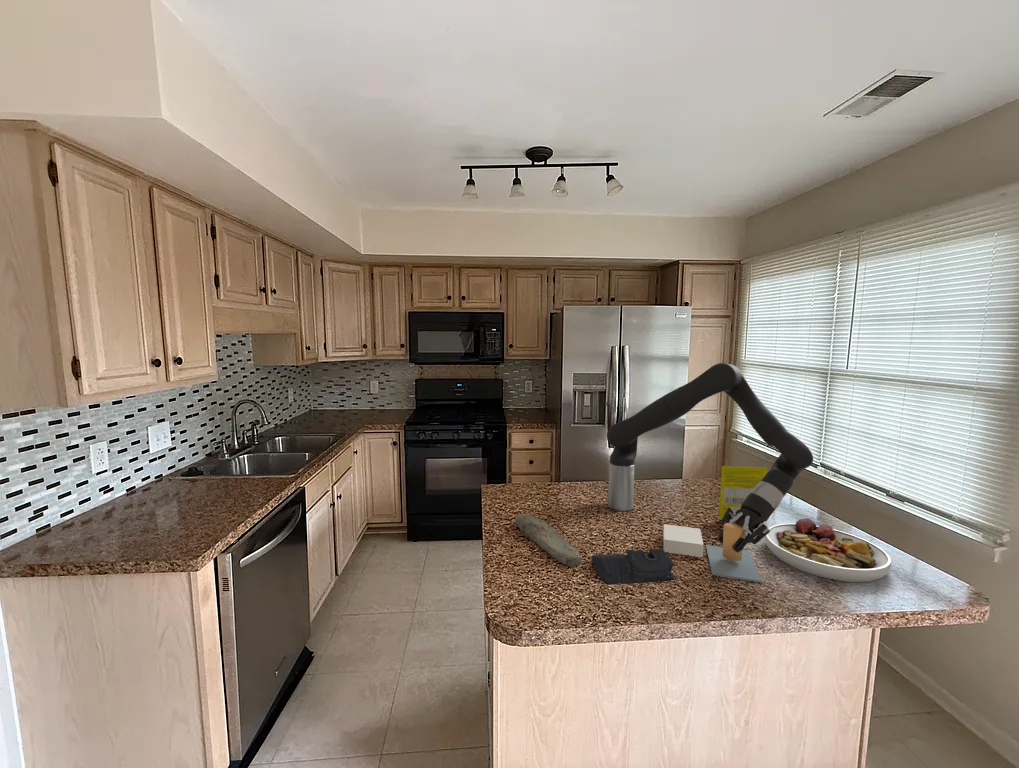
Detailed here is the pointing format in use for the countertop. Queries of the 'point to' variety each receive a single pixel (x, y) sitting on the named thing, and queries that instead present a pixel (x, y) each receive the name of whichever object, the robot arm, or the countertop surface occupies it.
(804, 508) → the countertop surface
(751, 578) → the mat
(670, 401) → the robot arm
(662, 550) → the black flat bumpy piece
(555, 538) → the long grey stone
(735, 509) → the food package
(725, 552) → the tan rounded cylinder
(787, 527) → the bowl
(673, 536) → the white square block
